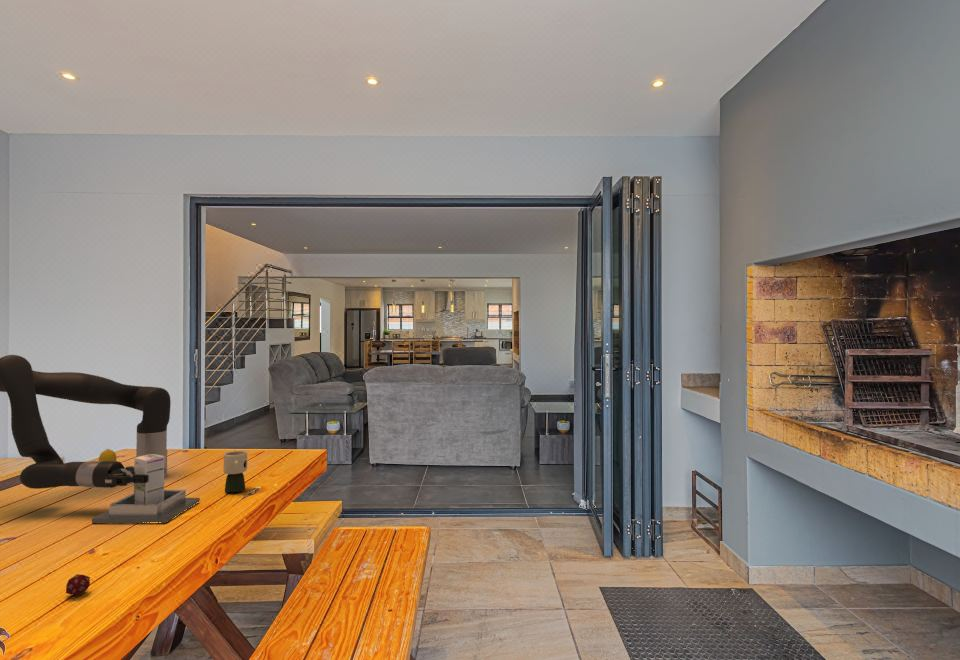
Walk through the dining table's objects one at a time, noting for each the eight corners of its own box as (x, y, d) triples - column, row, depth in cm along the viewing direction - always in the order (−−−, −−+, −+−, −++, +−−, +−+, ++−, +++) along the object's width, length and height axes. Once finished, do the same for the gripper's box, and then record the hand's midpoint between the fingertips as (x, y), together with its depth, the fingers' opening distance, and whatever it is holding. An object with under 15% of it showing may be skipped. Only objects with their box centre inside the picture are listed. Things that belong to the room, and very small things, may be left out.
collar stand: (134, 502, 157) (135, 488, 157) (199, 502, 158) (199, 488, 158) (91, 524, 139) (92, 507, 139) (165, 524, 140) (165, 507, 140)
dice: (72, 590, 104) (73, 570, 104) (95, 589, 104) (96, 570, 104) (59, 600, 100) (59, 579, 100) (83, 599, 100) (83, 579, 100)
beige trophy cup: (248, 494, 166) (248, 455, 166) (224, 498, 162) (224, 457, 163) (245, 485, 175) (245, 448, 176) (222, 488, 172) (223, 450, 172)
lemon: (106, 472, 191) (107, 450, 191) (94, 471, 192) (95, 450, 192) (119, 468, 196) (120, 447, 197) (108, 467, 198) (108, 447, 198)
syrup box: (164, 504, 150) (166, 455, 150) (144, 510, 145) (145, 459, 145) (152, 501, 152) (154, 453, 153) (132, 506, 147) (133, 457, 147)
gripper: (81, 467, 141) (141, 468, 142) (117, 455, 155) (171, 456, 156) (81, 494, 141) (140, 495, 141) (116, 480, 155) (170, 480, 156)
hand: (156, 474), depth 149 cm, fingers closed on syrup box, 7 cm apart
